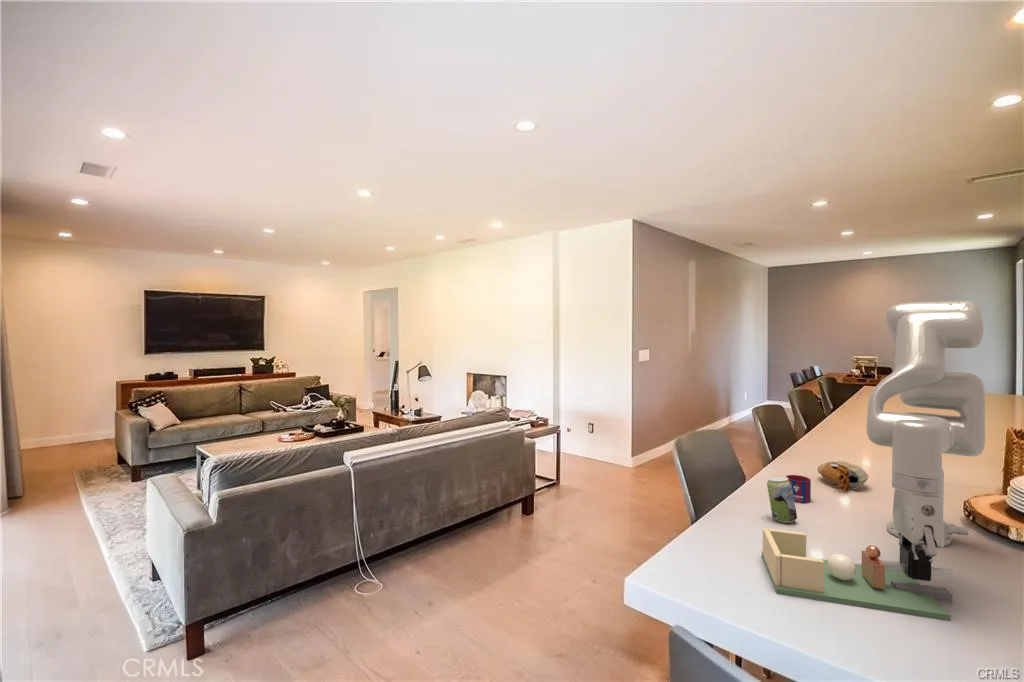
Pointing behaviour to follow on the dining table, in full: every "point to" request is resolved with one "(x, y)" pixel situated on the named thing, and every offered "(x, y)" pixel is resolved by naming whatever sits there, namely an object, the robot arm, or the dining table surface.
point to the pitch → (816, 582)
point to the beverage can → (781, 499)
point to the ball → (841, 566)
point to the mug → (800, 488)
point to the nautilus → (843, 474)
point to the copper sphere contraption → (893, 566)
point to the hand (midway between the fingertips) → (914, 573)
